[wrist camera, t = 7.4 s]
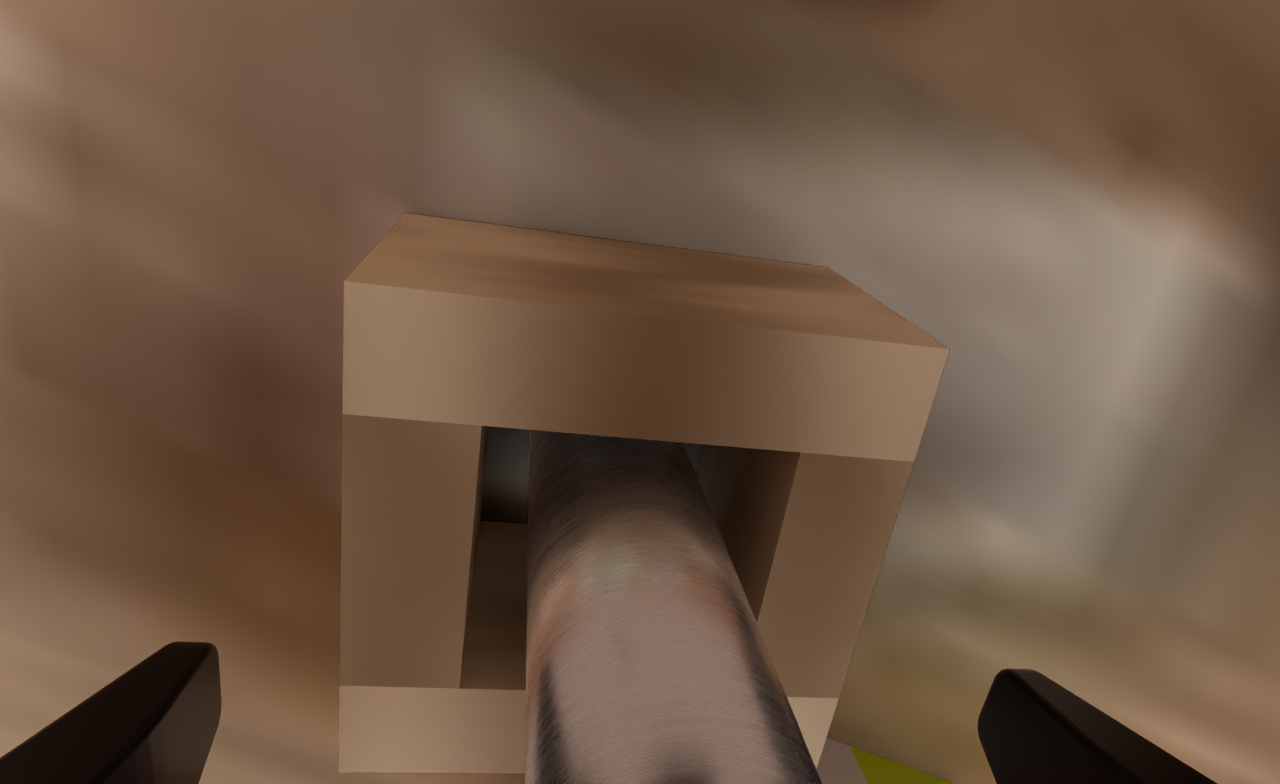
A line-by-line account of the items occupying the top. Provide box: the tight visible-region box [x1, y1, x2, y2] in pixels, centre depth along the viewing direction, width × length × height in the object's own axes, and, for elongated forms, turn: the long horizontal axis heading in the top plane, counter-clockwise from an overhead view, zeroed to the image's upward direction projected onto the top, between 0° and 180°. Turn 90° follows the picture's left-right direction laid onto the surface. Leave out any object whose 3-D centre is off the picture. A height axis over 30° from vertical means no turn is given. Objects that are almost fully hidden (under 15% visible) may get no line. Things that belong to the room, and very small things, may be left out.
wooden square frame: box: [339, 213, 950, 773], centre depth 13 cm, size 8×8×4 cm
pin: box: [525, 430, 822, 784], centre depth 11 cm, size 3×3×9 cm
